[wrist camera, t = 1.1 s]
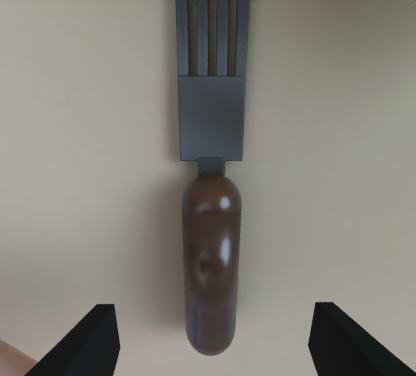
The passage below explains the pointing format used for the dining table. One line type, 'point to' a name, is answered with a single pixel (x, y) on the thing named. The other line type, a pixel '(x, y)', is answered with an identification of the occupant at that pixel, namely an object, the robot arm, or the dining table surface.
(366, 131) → the dining table surface
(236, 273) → the fork
